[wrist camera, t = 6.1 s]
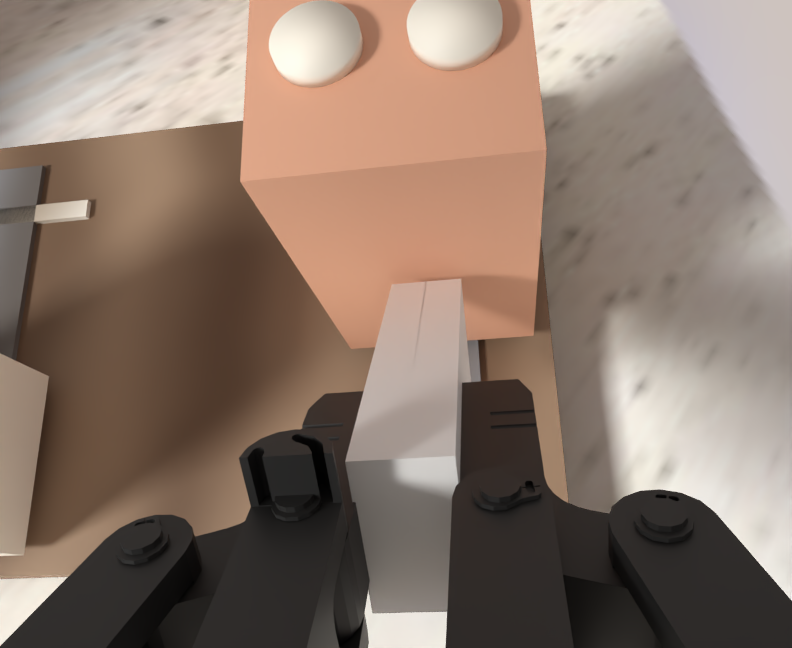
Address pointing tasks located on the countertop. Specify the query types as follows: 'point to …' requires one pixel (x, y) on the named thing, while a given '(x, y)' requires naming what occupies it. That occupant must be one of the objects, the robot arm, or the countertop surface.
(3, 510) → the tall white pillar
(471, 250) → the tall salmon pillar
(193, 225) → the walnut track board
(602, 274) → the countertop surface
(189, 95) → the countertop surface
